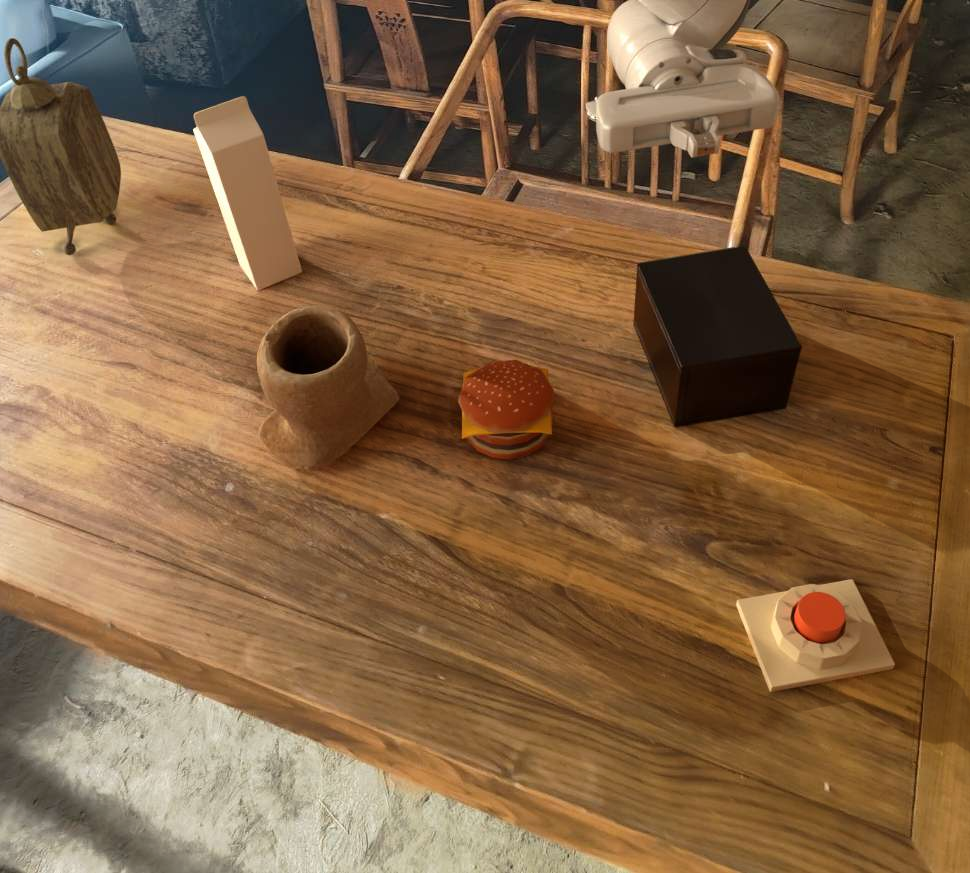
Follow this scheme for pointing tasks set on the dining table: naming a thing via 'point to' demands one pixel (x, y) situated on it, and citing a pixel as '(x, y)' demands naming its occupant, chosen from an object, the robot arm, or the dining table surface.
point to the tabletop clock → (57, 152)
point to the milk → (247, 191)
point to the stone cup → (318, 387)
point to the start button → (819, 617)
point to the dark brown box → (714, 336)
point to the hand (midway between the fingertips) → (706, 150)
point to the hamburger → (507, 408)
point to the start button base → (804, 660)
